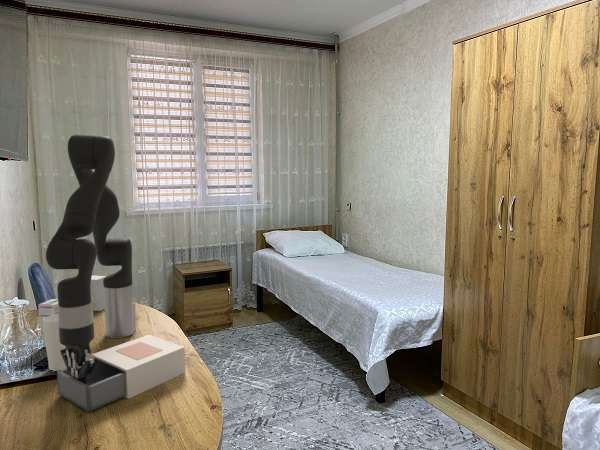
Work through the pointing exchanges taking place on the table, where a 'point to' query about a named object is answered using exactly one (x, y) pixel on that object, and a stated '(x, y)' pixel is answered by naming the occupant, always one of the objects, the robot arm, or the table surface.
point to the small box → (97, 293)
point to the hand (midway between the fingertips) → (80, 390)
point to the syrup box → (47, 312)
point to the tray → (93, 386)
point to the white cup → (53, 343)
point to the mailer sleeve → (145, 362)
